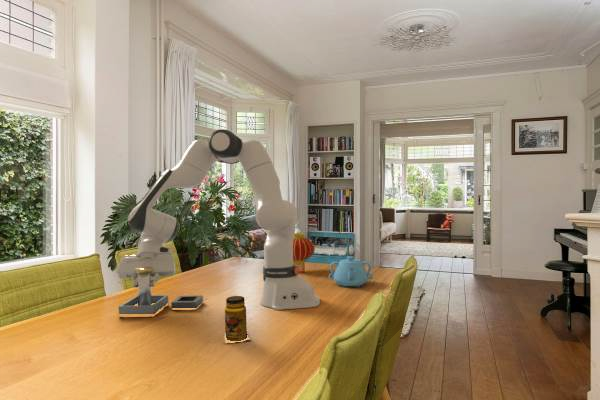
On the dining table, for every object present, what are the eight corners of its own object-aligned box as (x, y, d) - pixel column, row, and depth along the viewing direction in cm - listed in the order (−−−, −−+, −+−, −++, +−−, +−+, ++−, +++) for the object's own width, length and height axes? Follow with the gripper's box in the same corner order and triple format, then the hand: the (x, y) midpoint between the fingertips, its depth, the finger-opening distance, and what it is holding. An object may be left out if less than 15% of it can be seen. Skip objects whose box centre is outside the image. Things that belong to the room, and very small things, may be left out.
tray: (168, 305, 146) (168, 295, 146) (153, 317, 132) (153, 306, 132) (137, 305, 147) (136, 295, 146) (119, 317, 133) (118, 306, 132)
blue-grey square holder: (203, 303, 149) (202, 295, 148) (196, 310, 140) (196, 302, 139) (179, 303, 149) (179, 295, 149) (171, 310, 140) (171, 302, 140)
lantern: (278, 270, 208) (277, 214, 207) (309, 267, 213) (308, 213, 212) (287, 276, 192) (285, 216, 191) (319, 274, 197) (318, 215, 196)
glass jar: (156, 302, 142) (155, 266, 142) (149, 307, 136) (148, 269, 136) (140, 302, 142) (139, 266, 142) (133, 307, 136) (131, 270, 136)
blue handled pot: (371, 280, 181) (371, 253, 180) (375, 291, 161) (375, 261, 161) (329, 280, 183) (328, 253, 182) (328, 291, 163) (327, 261, 162)
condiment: (225, 345, 108) (224, 302, 107) (222, 334, 116) (221, 294, 115) (251, 341, 110) (250, 299, 109) (246, 331, 118) (245, 292, 117)
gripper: (118, 250, 144) (110, 283, 135) (175, 248, 147) (171, 279, 138) (122, 260, 149) (115, 292, 139) (177, 258, 152) (174, 289, 142)
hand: (144, 286), depth 139 cm, fingers closed on glass jar, 4 cm apart
